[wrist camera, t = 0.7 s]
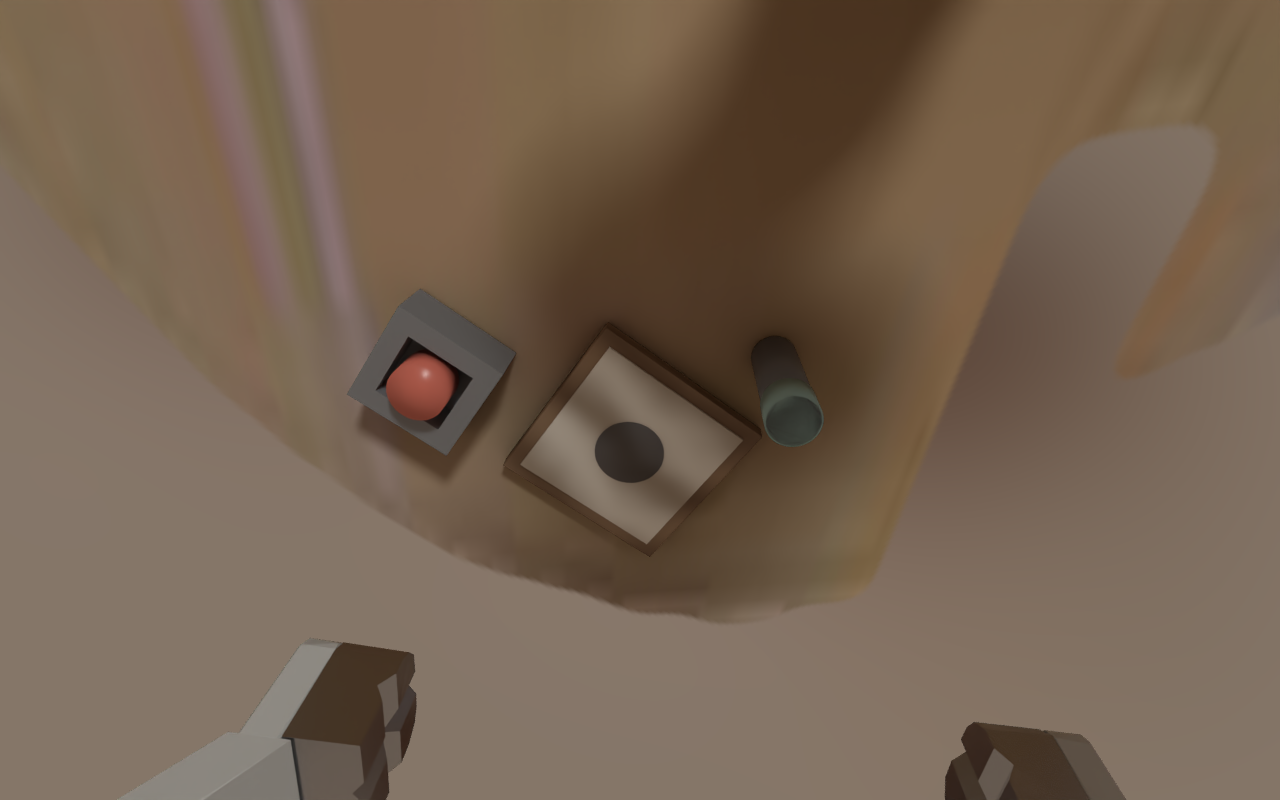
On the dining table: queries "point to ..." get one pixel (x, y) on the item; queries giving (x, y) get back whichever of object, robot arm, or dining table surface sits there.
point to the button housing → (449, 338)
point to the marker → (785, 393)
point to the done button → (422, 385)
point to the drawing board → (631, 442)
